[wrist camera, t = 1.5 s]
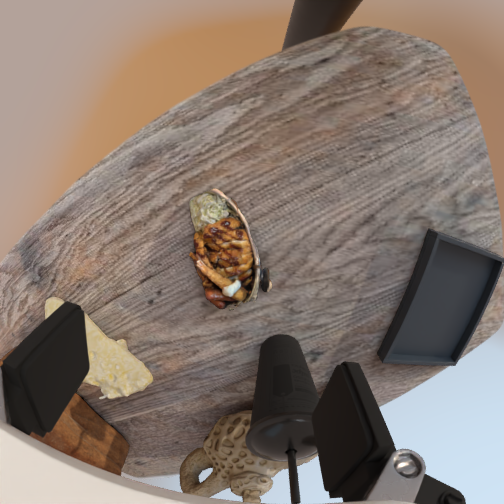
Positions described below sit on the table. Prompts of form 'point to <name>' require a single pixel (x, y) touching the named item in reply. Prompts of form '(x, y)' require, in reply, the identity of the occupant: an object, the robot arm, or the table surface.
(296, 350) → the drinking cup
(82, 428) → the bread
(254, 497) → the teapot
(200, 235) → the taco
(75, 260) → the table surface
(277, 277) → the table surface
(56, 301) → the cheese
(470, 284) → the serving tray
